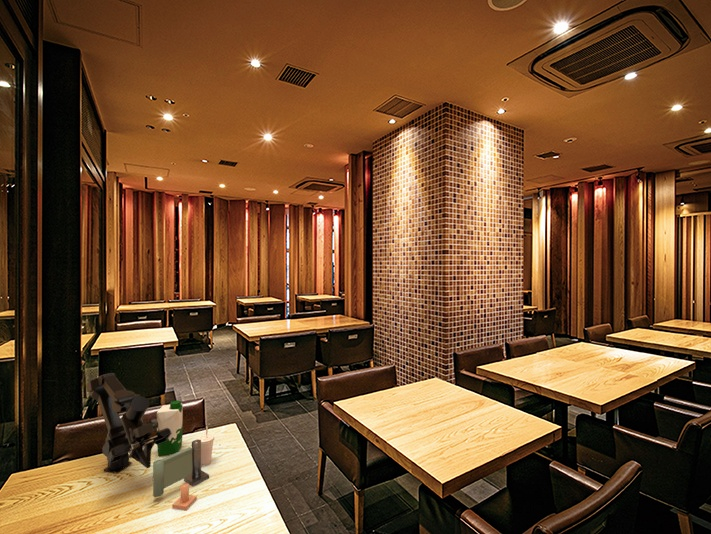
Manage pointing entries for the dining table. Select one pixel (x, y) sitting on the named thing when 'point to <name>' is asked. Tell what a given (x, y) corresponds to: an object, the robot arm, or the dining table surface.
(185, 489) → the post
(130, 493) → the dining table surface
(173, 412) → the milk carton
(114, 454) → the robot arm
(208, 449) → the smoothie
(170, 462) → the gate
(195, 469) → the hinge post
